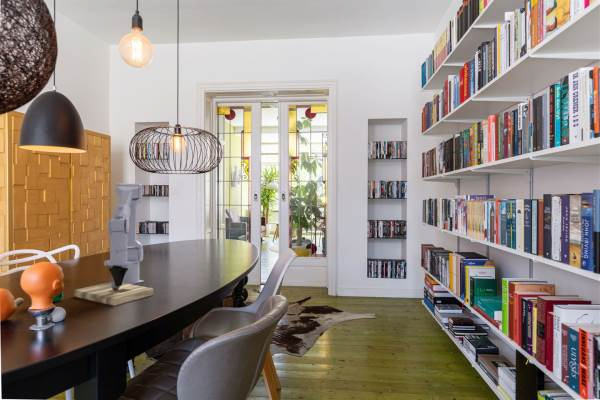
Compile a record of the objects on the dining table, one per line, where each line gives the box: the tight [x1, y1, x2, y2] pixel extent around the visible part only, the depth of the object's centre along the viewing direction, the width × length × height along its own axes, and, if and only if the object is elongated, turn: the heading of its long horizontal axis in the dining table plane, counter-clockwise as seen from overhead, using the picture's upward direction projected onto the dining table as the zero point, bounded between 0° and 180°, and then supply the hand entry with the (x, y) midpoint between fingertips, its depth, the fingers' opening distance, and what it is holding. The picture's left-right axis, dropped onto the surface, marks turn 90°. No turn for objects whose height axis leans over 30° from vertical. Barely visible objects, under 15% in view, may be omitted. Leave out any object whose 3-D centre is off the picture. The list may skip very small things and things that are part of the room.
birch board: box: [74, 281, 154, 306], centre depth 135 cm, size 24×16×2 cm, turn 61°
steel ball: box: [111, 281, 120, 290], centre depth 135 cm, size 3×3×3 cm
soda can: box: [53, 266, 64, 303], centre depth 128 cm, size 5×5×12 cm
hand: (118, 286), depth 134 cm, fingers closed, pressing on steel ball
